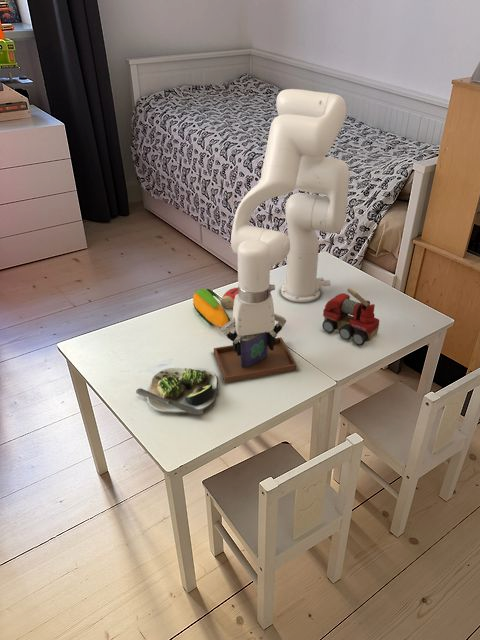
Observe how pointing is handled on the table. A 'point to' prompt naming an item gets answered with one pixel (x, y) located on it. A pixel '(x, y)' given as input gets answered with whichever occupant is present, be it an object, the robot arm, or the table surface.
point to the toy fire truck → (351, 318)
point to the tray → (272, 364)
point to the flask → (253, 349)
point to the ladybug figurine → (229, 298)
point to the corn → (210, 307)
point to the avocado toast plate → (182, 390)
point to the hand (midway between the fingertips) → (254, 349)
